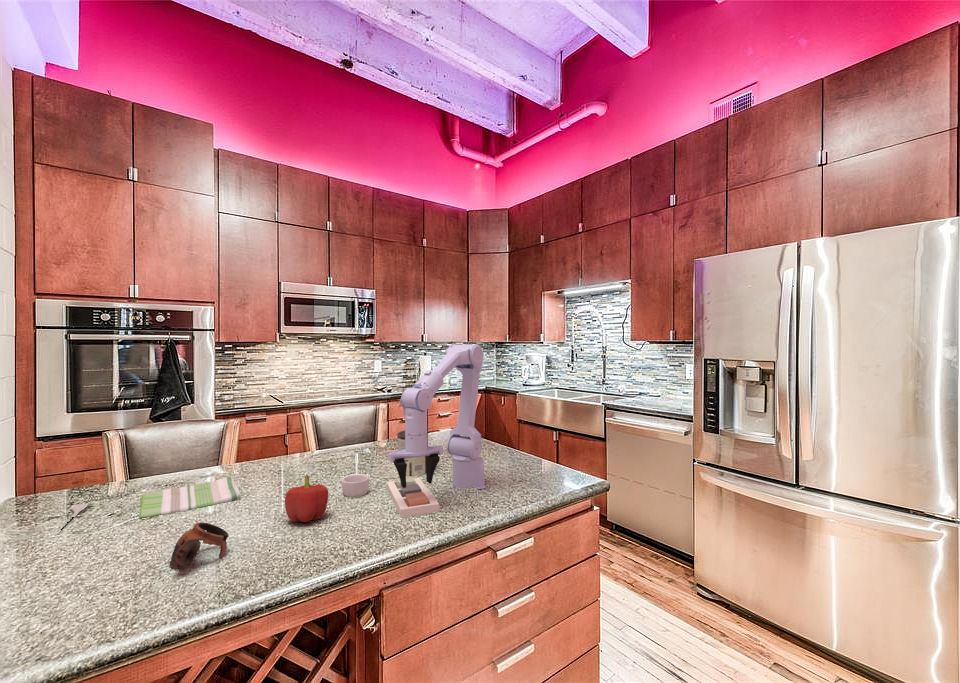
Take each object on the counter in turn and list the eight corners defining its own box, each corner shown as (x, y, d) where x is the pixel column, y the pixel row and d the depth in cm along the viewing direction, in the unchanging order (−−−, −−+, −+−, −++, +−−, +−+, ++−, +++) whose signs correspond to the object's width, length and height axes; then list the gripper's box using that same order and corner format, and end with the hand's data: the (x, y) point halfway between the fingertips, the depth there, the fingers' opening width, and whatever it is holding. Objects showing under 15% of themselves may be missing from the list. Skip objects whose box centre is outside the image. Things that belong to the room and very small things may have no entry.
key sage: (412, 484, 130) (411, 476, 130) (415, 489, 125) (415, 481, 125) (396, 486, 128) (396, 478, 128) (399, 491, 123) (399, 483, 123)
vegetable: (285, 513, 113) (285, 476, 113) (327, 507, 117) (326, 471, 117) (284, 531, 103) (284, 489, 103) (329, 523, 107) (329, 483, 107)
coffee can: (411, 467, 152) (411, 428, 151) (434, 472, 146) (434, 431, 146) (390, 476, 143) (390, 433, 143) (414, 481, 137) (414, 437, 137)
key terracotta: (423, 500, 117) (423, 491, 117) (427, 507, 112) (427, 498, 112) (405, 503, 115) (405, 494, 115) (409, 510, 110) (409, 500, 110)
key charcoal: (417, 492, 123) (417, 483, 123) (421, 498, 119) (421, 489, 119) (400, 494, 121) (400, 485, 121) (404, 500, 117) (404, 491, 117)
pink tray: (419, 487, 132) (419, 477, 132) (439, 515, 112) (439, 503, 112) (386, 491, 128) (386, 481, 128) (400, 521, 108) (400, 509, 108)
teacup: (370, 499, 123) (370, 480, 123) (342, 503, 120) (342, 484, 120) (366, 487, 132) (365, 470, 132) (339, 491, 129) (339, 473, 129)
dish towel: (241, 501, 123) (241, 489, 123) (139, 523, 109) (138, 509, 109) (233, 484, 137) (233, 473, 137) (141, 502, 123) (141, 489, 123)
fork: (42, 547, 101) (41, 536, 101) (84, 505, 120) (84, 496, 120) (58, 545, 102) (57, 534, 102) (97, 504, 121) (96, 494, 121)
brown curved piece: (177, 554, 93) (199, 517, 96) (218, 571, 94) (239, 533, 97) (148, 569, 82) (175, 526, 84) (195, 588, 83) (220, 544, 85)
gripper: (436, 427, 120) (436, 475, 120) (385, 433, 113) (385, 484, 114) (446, 432, 114) (446, 483, 114) (392, 439, 107) (392, 493, 107)
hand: (416, 484), depth 113 cm, fingers open, 6 cm apart
